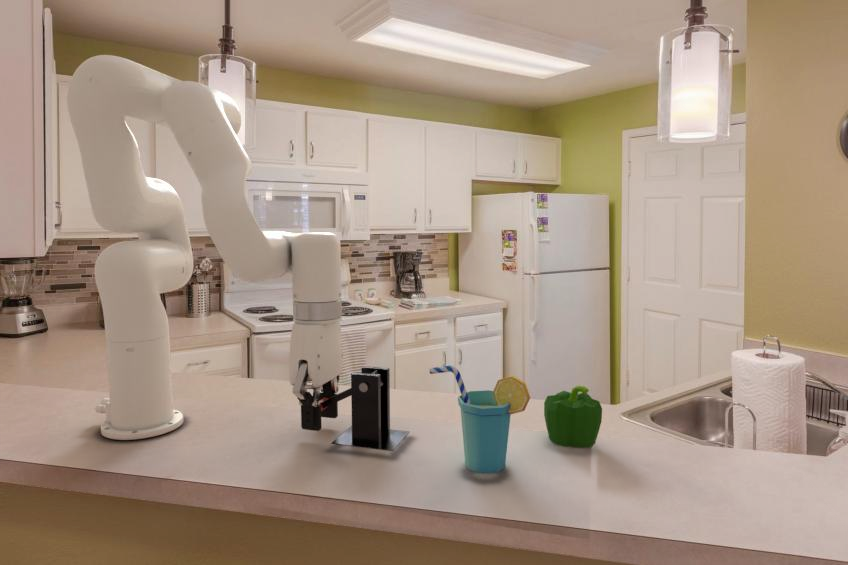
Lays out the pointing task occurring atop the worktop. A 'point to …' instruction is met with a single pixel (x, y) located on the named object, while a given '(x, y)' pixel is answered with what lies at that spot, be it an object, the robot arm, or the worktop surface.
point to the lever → (340, 396)
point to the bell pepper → (573, 418)
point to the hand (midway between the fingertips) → (320, 421)
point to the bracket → (371, 412)
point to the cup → (487, 420)
